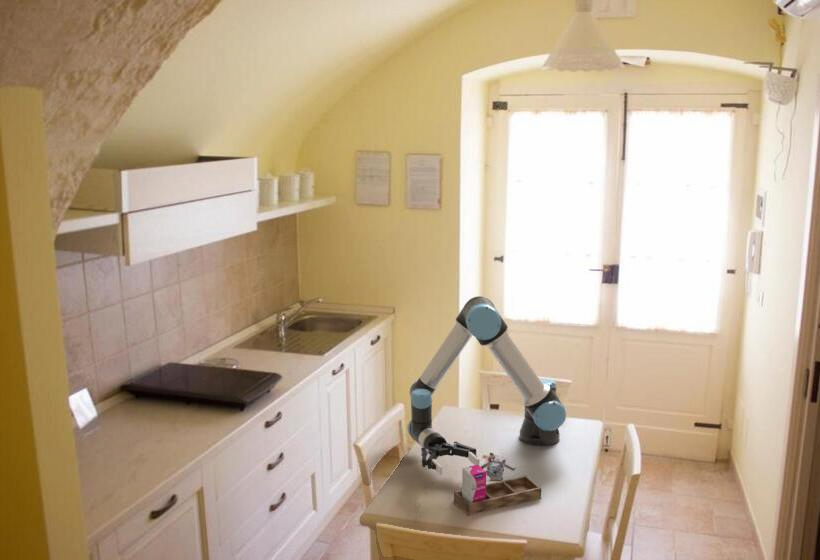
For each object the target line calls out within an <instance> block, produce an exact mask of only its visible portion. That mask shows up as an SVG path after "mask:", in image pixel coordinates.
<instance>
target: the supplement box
mask: <svg viewBox="0 0 820 560" xmlns="http://www.w3.org/2000/svg"><path fill="white" fill-rule="evenodd" d="M461 471H462V473H461V474H462V475H461V477H462V479H461V490H462V498H463V499H464V500H465V501H466V502H467V503H468V504H469V503H473V502H478V501H482V500H486V484H487V474H486V470H485V469H483V468H482V467H481V465H480V464H479V465H474V464H473V465H470V466H465V467H462V469H461Z"/></svg>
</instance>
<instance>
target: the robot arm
mask: <svg viewBox="0 0 820 560" xmlns="http://www.w3.org/2000/svg"><path fill="white" fill-rule="evenodd" d="M508 328H509V326H508V324H507V323H506V322H505V321H504V319H503V317H502V316H501V314H500V313H499V311H498V310H497V308H496V307H495V305H494V303H493V301H491V300H490V299H489V298H488V297H485V296H480V295H479V296H474V297H471V298H470V299H469V300H467V302H466V303H465V304H464V305H463V307H462V309H461V310H460V312H459V313H458V315H457V316H456V318H455V324H454V326H453V328H451V331H450V332H449V333H448V335H447V336H446V338H445V339H444V340H443V342H442V344H441V345H440V346H439V348H438V349H437V351H436V352H435V354H434V356H433V357H432V359H431V360H430V362H429V363H428V364H427V365H426V368H425V369H424V371H423V372H422V373H421V375H420V377H419V378H418V379H417V381H414V382H413V383H412V384H411V386H410V389H409V396H410V415H411V419H410V421H409V422H408V425H407V428H406V429H407V433H408V435H409V436H410V437H411V439H412V440H413V441H415V442H416V443H417V444H418V445H420V447H421V449H420V450H421V454H420V455H421V466H422V468H425V467H426V466H427V469H428V470H431V469H432V470H434V471H435V472H436V473H438V474H439V476H443V466H442V465H441V464H440V463H439V462H438V461H437V459H438V458H439V457H443V456H451V457H453V456H456V457H457V456H458V457H463V458H468V461H470V463H472V464H473V466H474V465H479V466H480V458H479V457H478V455H477V448H476V447H473V446H469V445H466V444H463V443H460V442H458V441H454V442H453V443H452V444H451V443H448V442H447V439H446V438H445V437H443V436H442V435H441V434H440V433H439V432H438V431H436V429H434V428H433V416H432V415H433V414H432V412H433V408H432V407H433V398H432V396H433V394H434V393H435V391H436V389H437V388H438V387H439V385H440V383H442V381H443V379H444V378H445V376H446V375H447V373H448V372H449V371H450V370H451V367H453V365H454V363H455V362H456V360H457V359H458V357H459V356H460V355H461V353H462V351H463V350H464V349H465V347H466V346H467V345H468V344H469V342H470V340H471V339H472V337H475V339H476V341H477V342H478V344H479V345H480V346H483V347H487V348H488V350H489V351H490V353H491V354H492V355H493V357H494V359H496V362H498V364H499V365H500V367H501V368H502V370H503V371H504V372H505V374H506V375H507V376H508V378H509V379H510V381H511V382H512V383H513V385H514V386H515V389H517V390H518V392H519V394H520V395H521V397H522V402H521V403H522V406H524V418H523V421H522V424H521V427H520V430H519V439H520V440H521V441H523V442H524V443H526V444H529V445H531V446H541V447H542V446H550V445H555V444H557V443H558V442H559V441H560V435H561V434H560V430H559V428H561V427H562V426H563V424H564V423H565V421H566V418H567V412H566V407H565V406H564V404H563V403H562V401H561V400H560V398H559V396H558V395H557V388H558V387H557V383H556V382H555V381H554V380H552V379H547V378H540V377H539V376H538V375H537V373H536V372H535V370H534V369H533V368H532V367H531V365H530V364H529V362H528V360H527V359H526V357H525V356H524V354H523V353H522V352H521V351H520V349H519V347H518V346H517V345H516V343H515V342H514V341H513V339H512V338H511V336H510V335H509V334H508V330H509V329H508ZM428 454H429V457H427V456H428Z"/></svg>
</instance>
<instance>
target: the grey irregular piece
mask: <svg viewBox="0 0 820 560" xmlns="http://www.w3.org/2000/svg"><path fill="white" fill-rule="evenodd" d="M488 454H489V458H491V459H492V458H493V457H495V454H494V453H493V452H489V453H488ZM502 458H504V457H502ZM493 462H494V461H493V459H492V460H491V462H489V461H488V462H487V466H486V470H485V471H486V477H489V479H490V481H493V480H499V481H504V478H503V475H504V474H503V473H504V470H505V469H504V467H505V465H506V459H502V461H501V462H499V464H498V465H493Z"/></svg>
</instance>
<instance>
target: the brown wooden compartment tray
mask: <svg viewBox="0 0 820 560" xmlns="http://www.w3.org/2000/svg"><path fill="white" fill-rule="evenodd" d="M538 499H539V500H540V499H542V487H541V486H539V485H538V484H537V483H536V482H535V481H533V480H532V479H531V478H529V477H528V476H527V475H524V476H519V477H514V478H509V479H505V480H499V481H496V482H492V483H486V500H482V501H478V502H473V503H469V504H468V503H467V502H466V501H465V500H464V499H463V498H462V489H461V490H456V491H453V502H454V504H455V505H456V506H457V507H458V508H459V509H460V510H461V511H462V512H464V514H465V515H466V516H472V515H475V514H480V513H484V512H489V511H492V510H496V509H501V508H505V507H510V506H513V505H514V506H515V505H519V504H521V503H526V502H530V501H535V500H538Z"/></svg>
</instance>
